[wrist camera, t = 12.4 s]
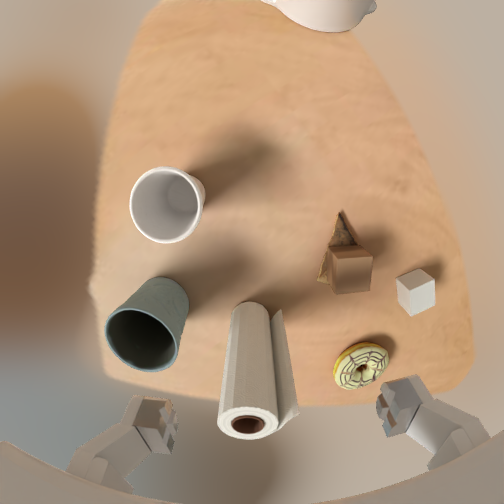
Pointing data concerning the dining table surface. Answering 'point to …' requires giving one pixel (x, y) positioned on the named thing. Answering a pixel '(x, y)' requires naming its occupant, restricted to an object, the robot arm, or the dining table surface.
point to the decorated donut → (354, 357)
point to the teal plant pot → (149, 325)
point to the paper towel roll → (256, 375)
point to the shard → (336, 244)
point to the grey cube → (416, 291)
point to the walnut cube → (349, 269)
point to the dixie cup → (167, 204)
